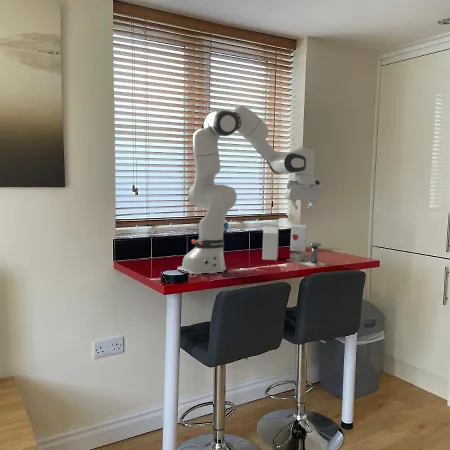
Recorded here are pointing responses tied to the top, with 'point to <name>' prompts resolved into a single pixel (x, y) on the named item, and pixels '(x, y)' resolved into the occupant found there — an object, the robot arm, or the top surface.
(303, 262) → the eye block
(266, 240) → the milk carton
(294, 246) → the supplement box
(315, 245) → the pin
